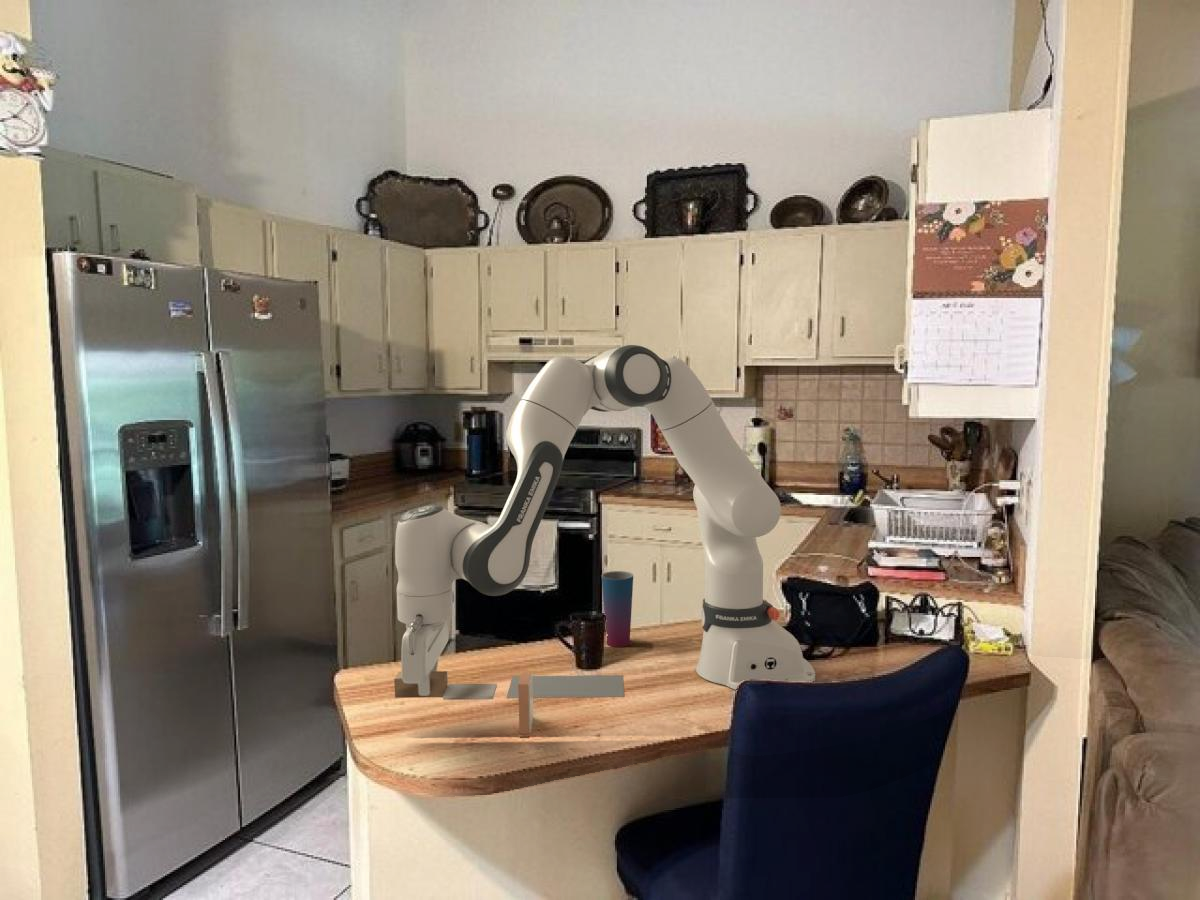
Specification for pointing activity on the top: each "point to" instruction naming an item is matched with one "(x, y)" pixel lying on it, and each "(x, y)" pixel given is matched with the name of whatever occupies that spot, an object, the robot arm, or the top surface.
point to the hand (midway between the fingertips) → (428, 688)
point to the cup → (617, 606)
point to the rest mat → (572, 686)
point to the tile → (525, 702)
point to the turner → (444, 688)
